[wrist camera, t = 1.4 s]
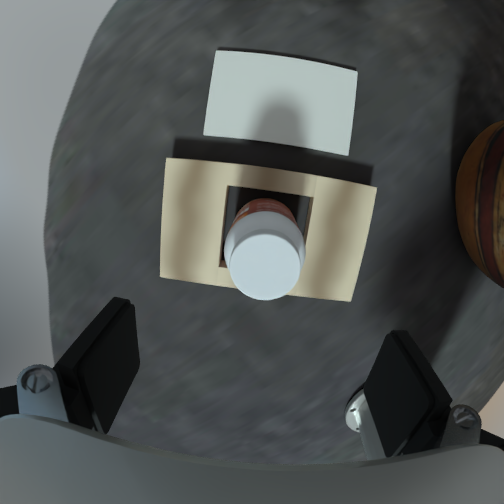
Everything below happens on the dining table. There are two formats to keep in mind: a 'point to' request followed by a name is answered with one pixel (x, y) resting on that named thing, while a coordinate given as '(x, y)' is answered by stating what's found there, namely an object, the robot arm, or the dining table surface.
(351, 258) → the wooden rectangular frame
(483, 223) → the ceramic pitcher
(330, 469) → the robot arm
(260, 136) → the mat
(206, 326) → the dining table surface
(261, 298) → the pill bottle
